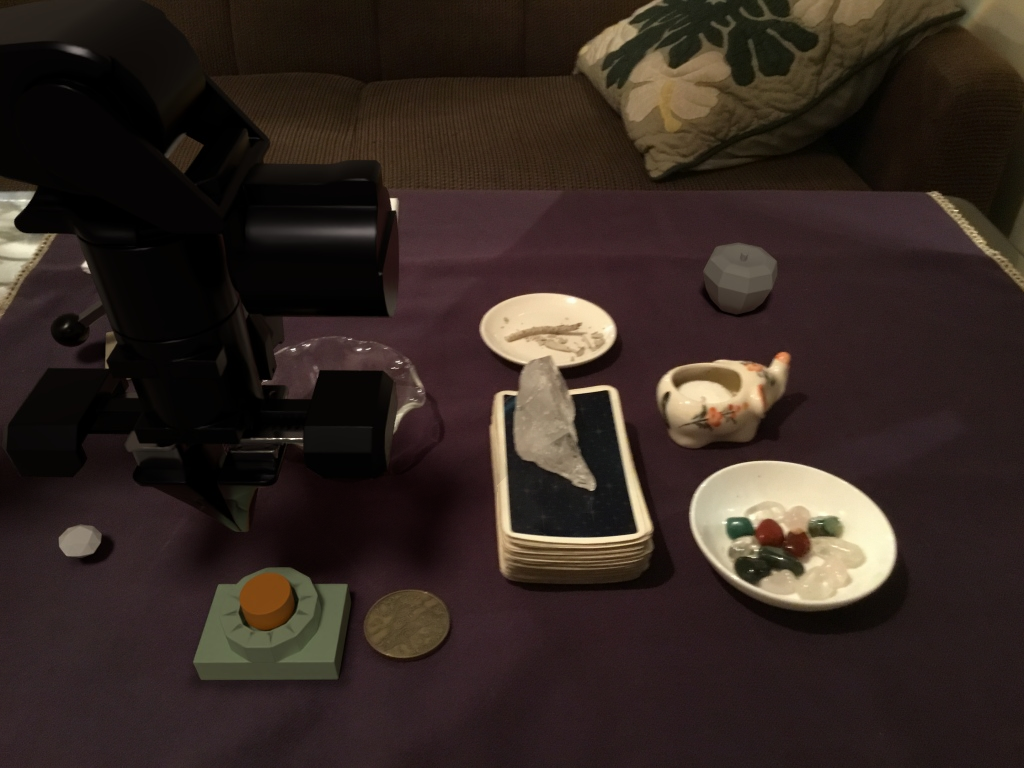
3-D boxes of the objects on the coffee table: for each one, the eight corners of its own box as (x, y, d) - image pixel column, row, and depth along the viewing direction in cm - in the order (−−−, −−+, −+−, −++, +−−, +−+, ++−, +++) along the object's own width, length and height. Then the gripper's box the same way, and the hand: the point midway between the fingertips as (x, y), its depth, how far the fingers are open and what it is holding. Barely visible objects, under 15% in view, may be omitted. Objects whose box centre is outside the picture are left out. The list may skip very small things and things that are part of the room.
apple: (776, 327, 83) (791, 274, 79) (701, 324, 83) (712, 271, 79) (761, 286, 89) (774, 234, 85) (691, 283, 89) (701, 232, 85)
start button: (239, 630, 50) (233, 614, 49) (251, 588, 53) (246, 572, 52) (289, 630, 51) (284, 614, 49) (299, 588, 53) (294, 572, 52)
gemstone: (52, 557, 58) (49, 534, 56) (86, 536, 60) (84, 513, 58) (77, 581, 58) (75, 559, 56) (111, 559, 60) (110, 536, 58)
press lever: (70, 359, 74) (40, 338, 71) (71, 340, 76) (43, 319, 74) (159, 296, 73) (133, 273, 71) (158, 278, 75) (133, 255, 73)
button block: (200, 681, 52) (185, 647, 49) (225, 601, 56) (212, 567, 54) (338, 680, 52) (330, 647, 49) (351, 601, 56) (344, 567, 54)
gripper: (396, 222, 43) (415, 432, 53) (48, 219, 42) (134, 430, 52) (369, 347, 34) (397, 569, 44) (-67, 344, 34) (61, 568, 44)
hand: (244, 525), depth 46 cm, fingers closed
